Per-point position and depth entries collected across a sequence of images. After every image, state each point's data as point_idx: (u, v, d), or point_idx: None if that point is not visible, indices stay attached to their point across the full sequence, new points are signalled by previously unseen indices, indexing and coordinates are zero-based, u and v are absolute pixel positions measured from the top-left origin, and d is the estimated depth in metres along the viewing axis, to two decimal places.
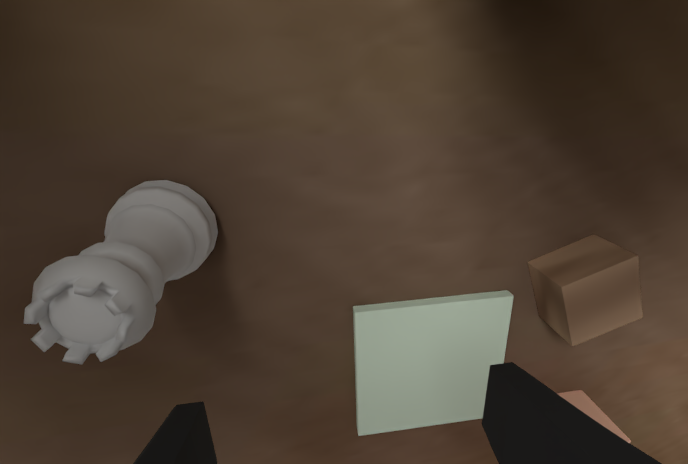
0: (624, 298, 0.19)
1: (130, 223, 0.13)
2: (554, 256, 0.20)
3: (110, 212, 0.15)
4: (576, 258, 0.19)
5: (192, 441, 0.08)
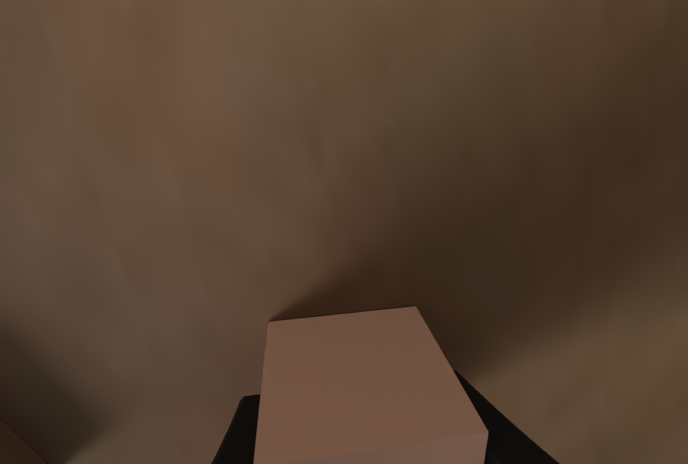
0: None
1: None
2: None
3: None
4: None
5: None
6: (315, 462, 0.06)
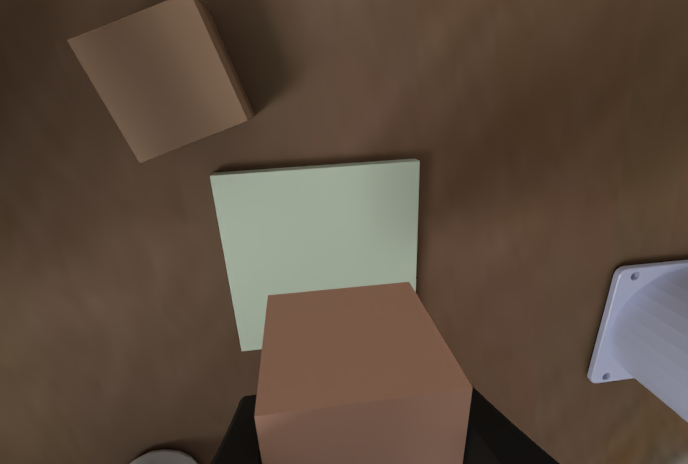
0: (152, 42, 0.11)
1: None
2: None
3: None
4: None
5: None
6: (312, 413, 0.07)
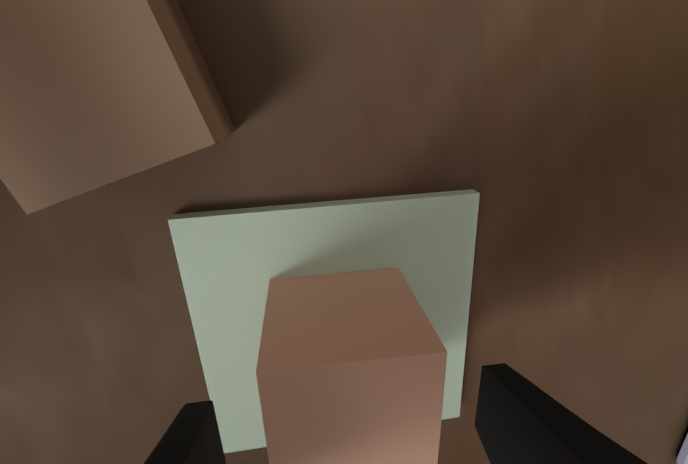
0: (32, 0, 0.06)
1: None
2: None
3: None
4: None
5: (202, 439, 0.08)
6: (305, 370, 0.07)
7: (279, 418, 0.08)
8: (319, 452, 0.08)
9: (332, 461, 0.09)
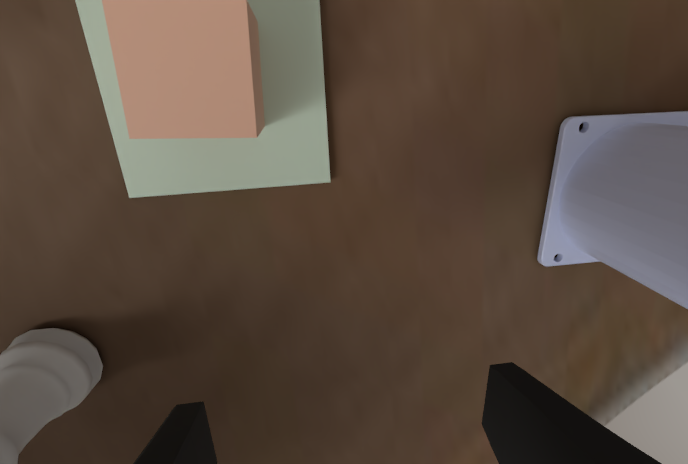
0: None
1: None
2: None
3: None
4: None
5: (192, 441, 0.08)
6: None
7: (123, 45, 0.11)
8: (159, 87, 0.11)
9: (170, 99, 0.11)
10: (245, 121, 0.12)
